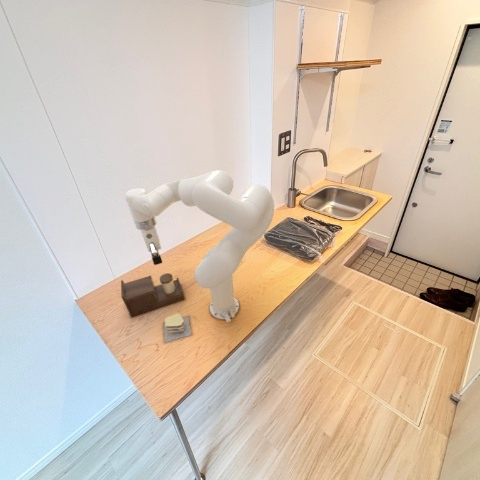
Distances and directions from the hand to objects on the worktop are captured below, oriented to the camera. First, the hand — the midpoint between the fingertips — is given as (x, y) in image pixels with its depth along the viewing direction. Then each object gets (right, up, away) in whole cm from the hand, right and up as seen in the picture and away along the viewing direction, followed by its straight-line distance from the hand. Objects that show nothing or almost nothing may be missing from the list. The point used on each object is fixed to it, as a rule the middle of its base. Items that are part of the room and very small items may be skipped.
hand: (156, 256), depth 102 cm
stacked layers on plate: (+9, -29, -3) cm, 31 cm away
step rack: (-3, -20, +10) cm, 23 cm away
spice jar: (+3, -16, +10) cm, 18 cm away
